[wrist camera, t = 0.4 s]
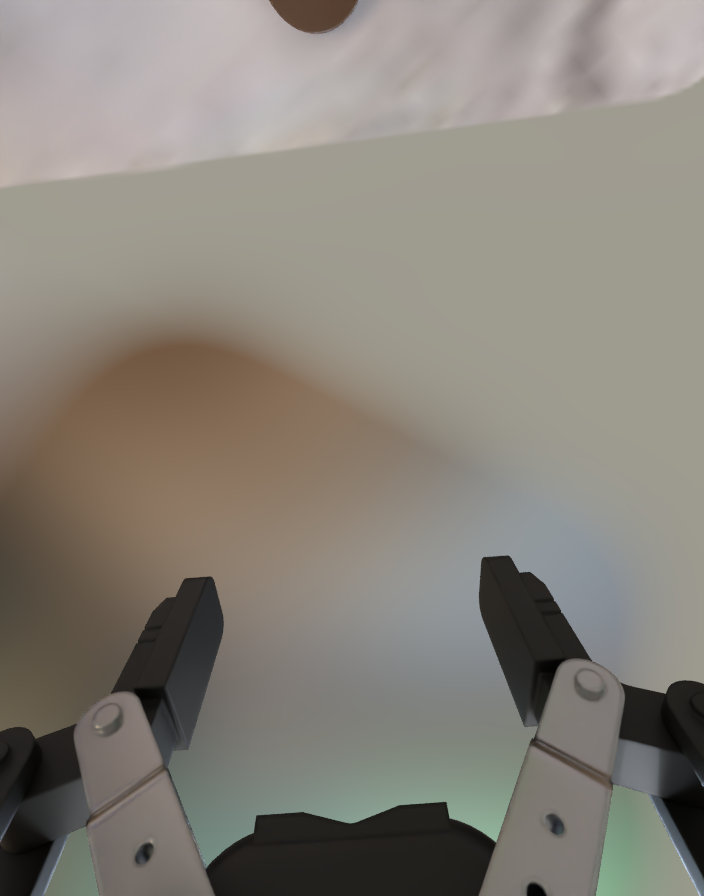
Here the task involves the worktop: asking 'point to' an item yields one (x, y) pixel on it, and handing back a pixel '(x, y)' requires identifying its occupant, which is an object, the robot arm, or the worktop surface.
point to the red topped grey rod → (314, 13)
